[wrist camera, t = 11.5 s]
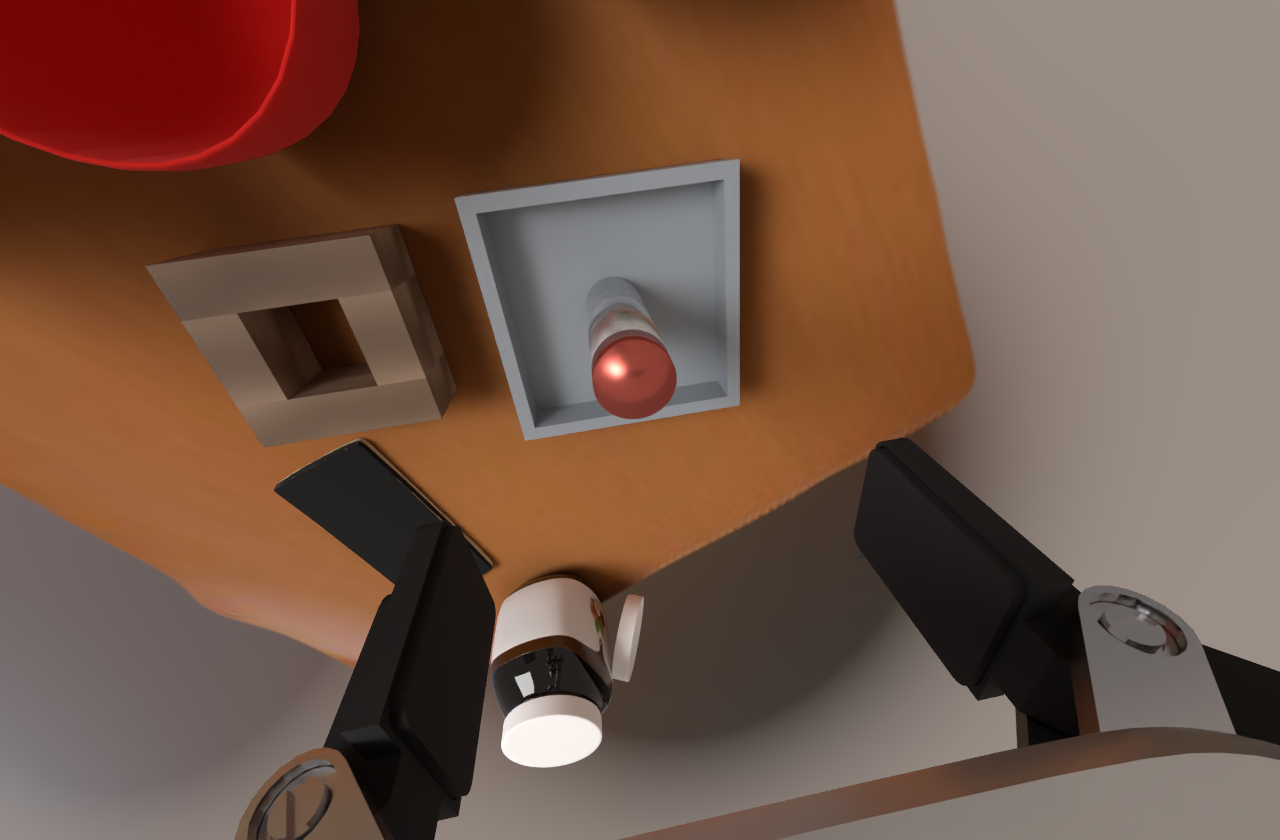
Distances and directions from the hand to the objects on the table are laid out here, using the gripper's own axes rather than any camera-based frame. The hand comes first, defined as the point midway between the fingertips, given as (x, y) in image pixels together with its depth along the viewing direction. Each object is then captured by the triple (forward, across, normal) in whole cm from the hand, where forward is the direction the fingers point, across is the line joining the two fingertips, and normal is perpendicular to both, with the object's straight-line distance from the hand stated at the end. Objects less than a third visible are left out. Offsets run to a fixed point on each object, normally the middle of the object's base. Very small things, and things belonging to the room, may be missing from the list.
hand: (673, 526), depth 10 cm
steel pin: (+20, 0, +1) cm, 20 cm away
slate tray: (+20, 0, +1) cm, 20 cm away
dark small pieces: (+21, +18, +16) cm, 32 cm away
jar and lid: (+20, +7, +28) cm, 35 cm away
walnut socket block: (+20, +16, 0) cm, 26 cm away
